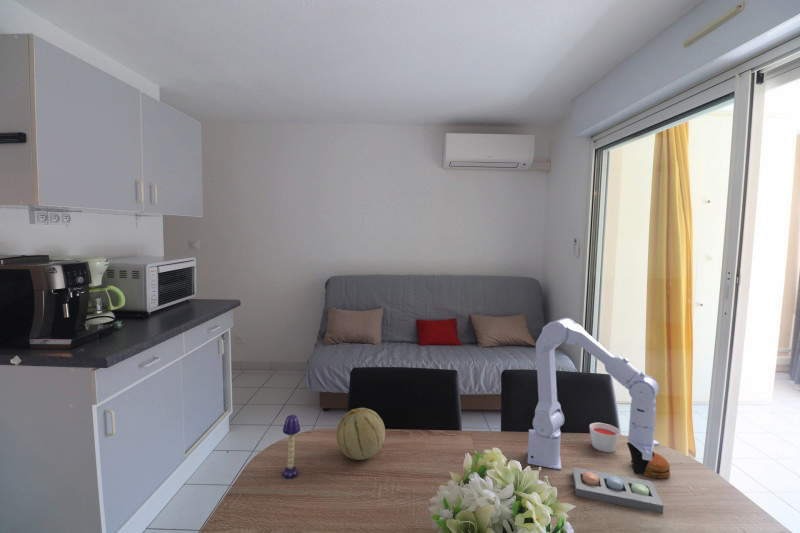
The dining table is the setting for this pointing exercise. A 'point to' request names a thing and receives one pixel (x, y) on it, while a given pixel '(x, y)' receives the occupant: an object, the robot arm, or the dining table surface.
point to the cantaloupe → (360, 433)
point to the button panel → (617, 491)
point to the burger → (657, 467)
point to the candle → (604, 436)
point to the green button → (639, 489)
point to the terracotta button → (590, 478)
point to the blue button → (614, 483)
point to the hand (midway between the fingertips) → (638, 473)
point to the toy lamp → (291, 444)
